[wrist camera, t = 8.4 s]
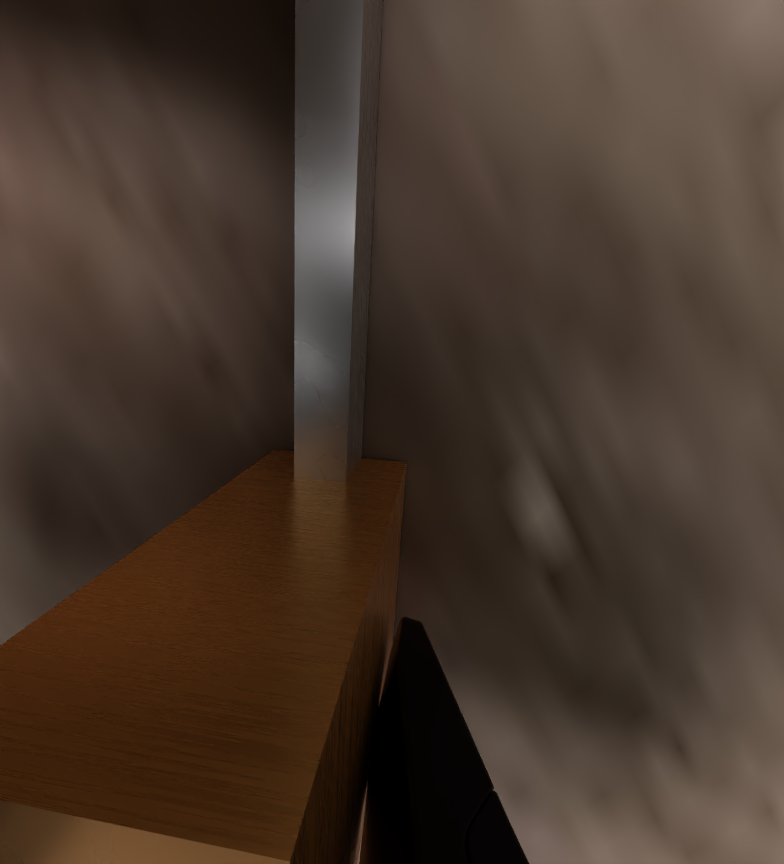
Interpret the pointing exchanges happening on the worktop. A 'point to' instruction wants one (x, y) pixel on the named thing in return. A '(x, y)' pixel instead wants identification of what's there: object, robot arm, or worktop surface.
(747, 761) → the worktop surface
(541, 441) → the worktop surface
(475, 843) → the robot arm
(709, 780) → the worktop surface
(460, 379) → the worktop surface
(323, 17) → the blade tool
